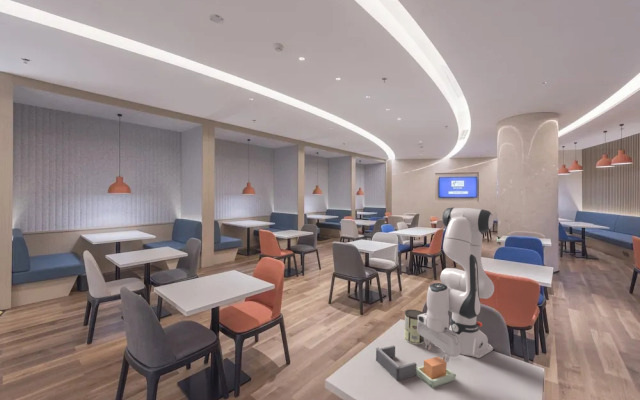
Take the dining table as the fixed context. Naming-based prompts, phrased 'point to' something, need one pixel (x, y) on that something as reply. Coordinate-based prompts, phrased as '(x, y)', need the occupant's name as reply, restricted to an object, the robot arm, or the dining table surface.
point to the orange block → (435, 367)
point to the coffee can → (412, 327)
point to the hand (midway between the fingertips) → (436, 354)
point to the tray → (438, 381)
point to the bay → (394, 364)
